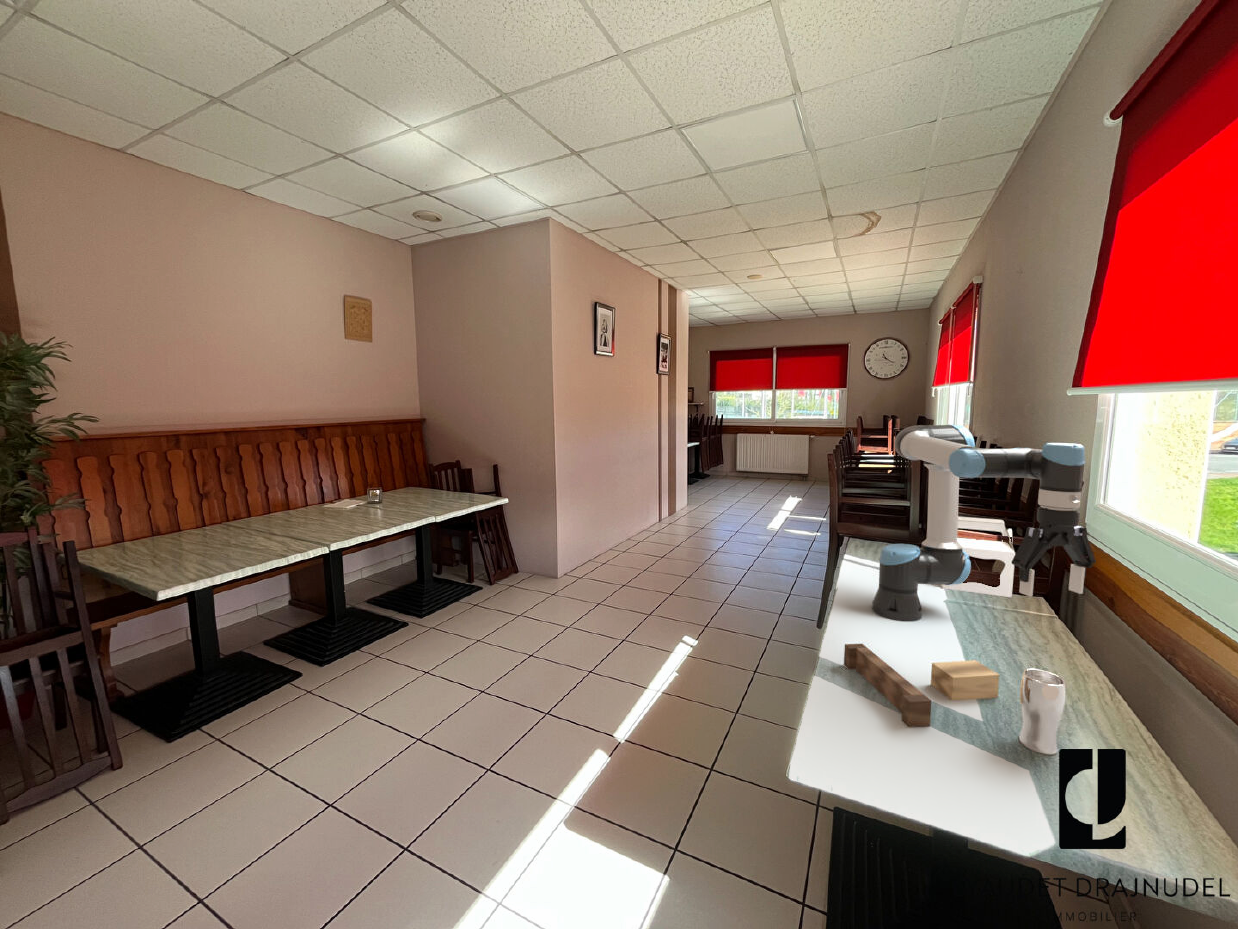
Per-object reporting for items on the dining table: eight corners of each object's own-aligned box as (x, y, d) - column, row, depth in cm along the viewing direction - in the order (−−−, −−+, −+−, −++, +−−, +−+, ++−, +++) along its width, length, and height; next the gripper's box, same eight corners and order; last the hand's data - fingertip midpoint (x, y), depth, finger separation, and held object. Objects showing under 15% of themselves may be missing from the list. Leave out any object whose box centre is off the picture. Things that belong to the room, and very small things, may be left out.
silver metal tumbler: (1064, 761, 97) (1070, 690, 95) (1019, 748, 100) (1024, 679, 99) (1056, 741, 102) (1062, 673, 101) (1013, 730, 106) (1019, 664, 105)
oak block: (930, 685, 124) (932, 662, 124) (974, 682, 125) (975, 660, 125) (951, 701, 117) (953, 677, 117) (997, 698, 118) (999, 674, 118)
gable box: (941, 588, 191) (945, 518, 188) (937, 578, 203) (941, 512, 200) (1012, 598, 181) (1018, 524, 178) (1004, 586, 193) (1009, 517, 190)
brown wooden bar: (843, 665, 134) (844, 644, 133) (861, 664, 134) (862, 643, 134) (908, 727, 107) (909, 701, 107) (929, 726, 108) (931, 700, 107)
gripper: (1026, 512, 112) (1018, 601, 114) (1121, 509, 114) (1112, 596, 117) (997, 506, 119) (991, 589, 121) (1087, 503, 122) (1080, 585, 124)
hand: (1050, 593), depth 119 cm, fingers open, 13 cm apart
